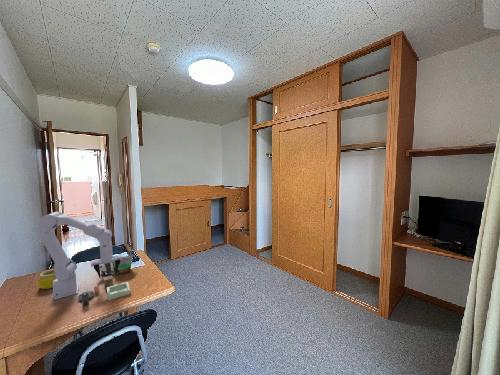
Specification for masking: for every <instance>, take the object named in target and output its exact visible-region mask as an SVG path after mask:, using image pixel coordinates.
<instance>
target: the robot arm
mask: <svg viewBox="0 0 500 375" xmlns="http://www.w3.org/2000/svg"><path fill="white" fill-rule="evenodd" d="M38 224H39V225H38V226H39V227H38V235H39V237H40V239H41V242H42V243H43V245H44V246H45V248H46V250H47V252H48V254H49V256H50V257H51V259H52V261H53V263H54V267H53V269H54V270H55V277H56V278H57V279H56V280H53V288H52V295H53V301H55V300H58V299H63V298H65V297H70V296H73V295H76V294H78V292H79V286H78V285H77V275H76V272H75V271H76V270H77V268H78V265H77V263H76V262H75V261H73V260H72V258H70V257H68V255H67V254H66V252H65V251H64V248H63V247H62V245H61V242H60V240H59V239H58V237H57V236H56V233H55V230H56V228H57V227H58V226H65V225H66V226H69V227H72V228H75V229H77V230H81V231H82V232H83V235H87V236H89V237H92V238H95V239H97V241H98V242H99V254H100V259H98V260H94V261H92V262H90V267H91V268H93V269H94V270H95V272H96V273H97V276H98V279H101V277H102V276H101V271H100V267H99V265H100V264H105V263H109V262H114V261H115V273H116V274H117V270H118V267H119V264H120V260H122V257H123V255H119V256H114V255H113V254H114V253H113V242H112V237H113V232H112V231H111V229H108V228H106V229H105V228H101V227H99V226H97V224H95V223H93V224H92V223H90V224H86V223H84V222H82V221H80V220H78V219H76V218H74V217H72V216H70V215H68V214H67V213H64V212H61V211H54V212H51V213H49V214H45V215H43V216H42V217H41V218H40V219H39V220H38Z"/></svg>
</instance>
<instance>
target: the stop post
mask: <svg viewBox="0 0 500 375" xmlns="http://www.w3.org/2000/svg"><path fill="white" fill-rule="evenodd" d="M93 289H94V290H93V292H94V295H95V294H99V293H100V286H99V284H98V285H94V286H93Z"/></svg>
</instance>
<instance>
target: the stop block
mask: <svg viewBox="0 0 500 375" xmlns="http://www.w3.org/2000/svg"><path fill="white" fill-rule="evenodd" d="M113 279H114V278H113V275H109V276H105V277H103V284H104V290H107V287H110V286H114V280H113Z"/></svg>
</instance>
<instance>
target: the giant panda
mask: <svg viewBox="0 0 500 375" xmlns="http://www.w3.org/2000/svg"><path fill="white" fill-rule="evenodd" d="M99 267H100V274H101V277H103V276H105V277H108V276H111V272H113V271H114V269H113V264H112V263H111V262H109V263H105V264H100V265H99ZM111 270H112V271H111Z"/></svg>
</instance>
